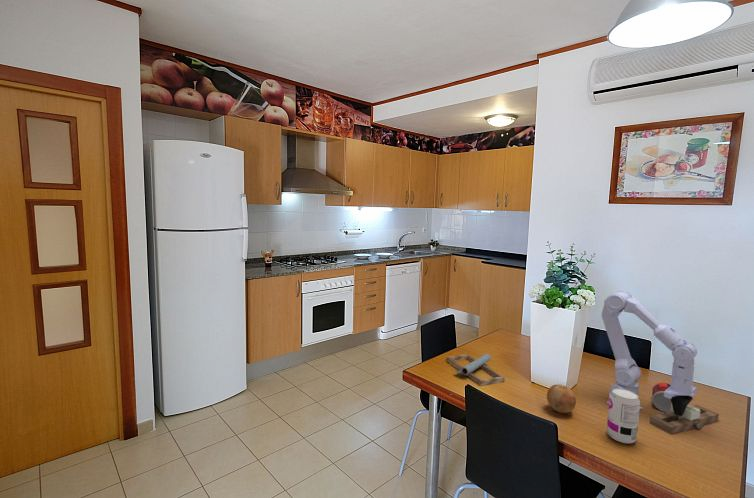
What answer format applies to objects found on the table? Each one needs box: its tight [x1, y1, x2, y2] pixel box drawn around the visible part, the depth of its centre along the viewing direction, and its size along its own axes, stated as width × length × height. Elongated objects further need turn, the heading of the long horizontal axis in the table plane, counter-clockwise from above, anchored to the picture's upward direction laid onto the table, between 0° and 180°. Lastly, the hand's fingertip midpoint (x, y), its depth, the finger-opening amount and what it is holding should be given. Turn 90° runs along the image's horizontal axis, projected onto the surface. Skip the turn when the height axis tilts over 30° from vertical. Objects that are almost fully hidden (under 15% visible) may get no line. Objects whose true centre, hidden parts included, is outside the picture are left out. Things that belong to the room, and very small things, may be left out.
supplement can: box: [606, 389, 641, 445], centre depth 120 cm, size 8×8×15 cm
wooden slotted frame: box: [649, 404, 720, 435], centre depth 131 cm, size 26×10×2 cm, turn 111°
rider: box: [670, 403, 700, 421], centre depth 131 cm, size 5×6×6 cm
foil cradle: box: [445, 354, 506, 387], centre depth 170 cm, size 12×28×2 cm, turn 21°
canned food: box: [651, 382, 672, 413], centre depth 142 cm, size 8×8×11 cm
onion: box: [546, 383, 577, 414], centre depth 136 cm, size 10×10×10 cm
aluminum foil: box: [454, 353, 491, 376], centre depth 170 cm, size 23×7×3 cm, turn 138°
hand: (678, 414), depth 129 cm, fingers closed
